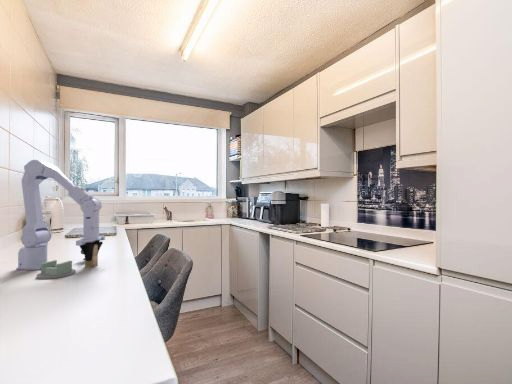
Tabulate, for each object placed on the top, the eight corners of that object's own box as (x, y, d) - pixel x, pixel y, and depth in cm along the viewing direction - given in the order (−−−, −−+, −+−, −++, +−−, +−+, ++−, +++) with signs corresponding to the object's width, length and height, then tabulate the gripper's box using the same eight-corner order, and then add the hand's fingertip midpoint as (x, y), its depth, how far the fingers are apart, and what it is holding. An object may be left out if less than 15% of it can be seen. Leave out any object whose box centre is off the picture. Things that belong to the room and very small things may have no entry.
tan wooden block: (84, 266, 117) (84, 245, 117) (89, 265, 120) (89, 244, 120) (93, 267, 117) (93, 245, 117) (97, 265, 119) (97, 244, 119)
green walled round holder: (27, 278, 101) (27, 265, 101) (56, 269, 113) (56, 258, 113) (57, 279, 99) (57, 266, 99) (83, 270, 111) (83, 259, 111)
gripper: (87, 229, 111) (87, 264, 110) (111, 225, 125) (111, 256, 125) (71, 229, 112) (71, 263, 111) (96, 225, 126) (96, 255, 126)
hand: (91, 259), depth 118 cm, fingers closed on tan wooden block, 2 cm apart
